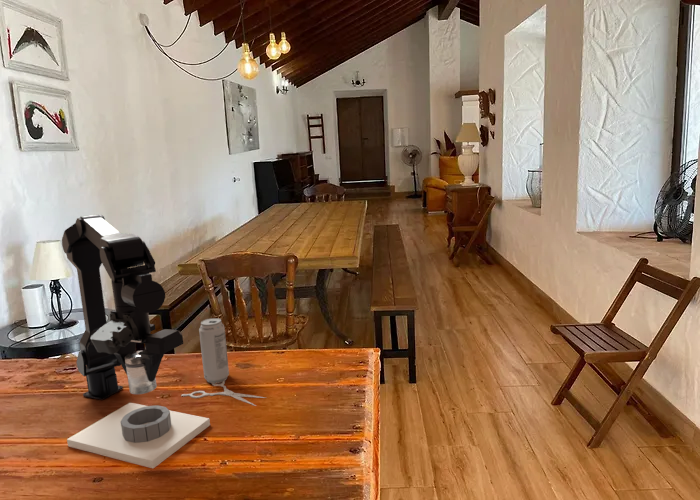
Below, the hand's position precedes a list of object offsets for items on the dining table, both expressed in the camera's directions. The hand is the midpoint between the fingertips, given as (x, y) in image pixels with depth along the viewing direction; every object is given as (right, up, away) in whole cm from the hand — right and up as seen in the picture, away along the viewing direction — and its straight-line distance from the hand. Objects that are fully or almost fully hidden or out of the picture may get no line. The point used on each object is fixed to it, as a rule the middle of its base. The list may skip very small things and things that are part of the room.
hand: (141, 379), depth 105 cm
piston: (0, -2, 0) cm, 2 cm away
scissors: (+13, -9, +19) cm, 25 cm away
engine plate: (-1, -12, +3) cm, 12 cm away
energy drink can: (+8, -7, +28) cm, 30 cm away
